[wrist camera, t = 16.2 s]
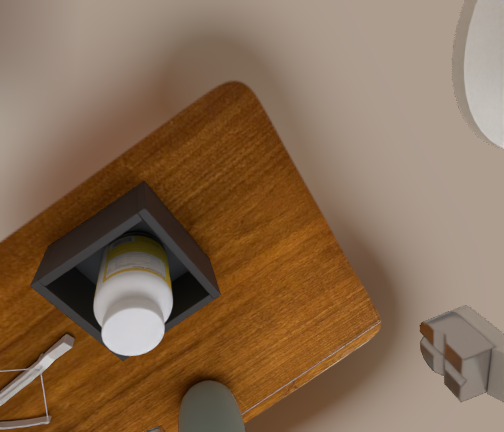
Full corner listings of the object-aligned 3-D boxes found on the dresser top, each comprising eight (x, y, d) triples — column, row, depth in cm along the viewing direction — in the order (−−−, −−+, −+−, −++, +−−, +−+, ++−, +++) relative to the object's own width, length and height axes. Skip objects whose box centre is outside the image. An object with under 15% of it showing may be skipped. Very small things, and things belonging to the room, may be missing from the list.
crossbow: (21, 434, 47) (16, 451, 45) (-83, 391, 41) (-94, 408, 39) (115, 361, 45) (113, 375, 43) (19, 304, 39) (12, 318, 37)
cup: (211, 419, 53) (225, 493, 45) (164, 405, 50) (168, 483, 41) (244, 380, 52) (265, 449, 43) (197, 363, 48) (209, 435, 40)
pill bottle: (132, 294, 41) (129, 378, 31) (87, 255, 38) (67, 335, 28) (180, 258, 41) (192, 331, 30) (138, 217, 38) (137, 283, 27)
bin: (144, 180, 37) (145, 207, 31) (210, 259, 43) (221, 295, 37) (47, 246, 37) (29, 286, 31) (125, 316, 43) (122, 361, 37)
